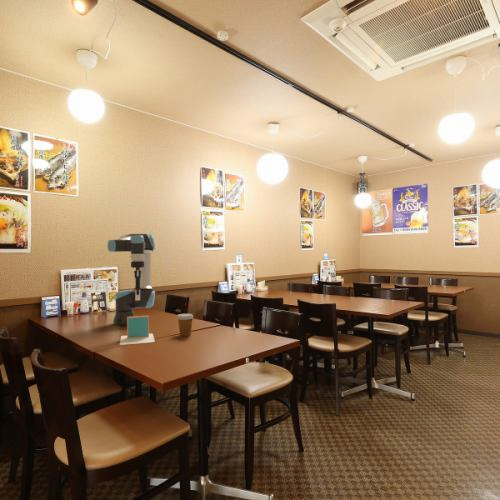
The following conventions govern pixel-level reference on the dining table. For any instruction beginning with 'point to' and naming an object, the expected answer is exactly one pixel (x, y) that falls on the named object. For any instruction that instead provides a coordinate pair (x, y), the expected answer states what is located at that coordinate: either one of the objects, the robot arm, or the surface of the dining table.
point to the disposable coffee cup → (185, 324)
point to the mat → (136, 340)
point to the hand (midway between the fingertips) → (137, 300)
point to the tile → (137, 326)
